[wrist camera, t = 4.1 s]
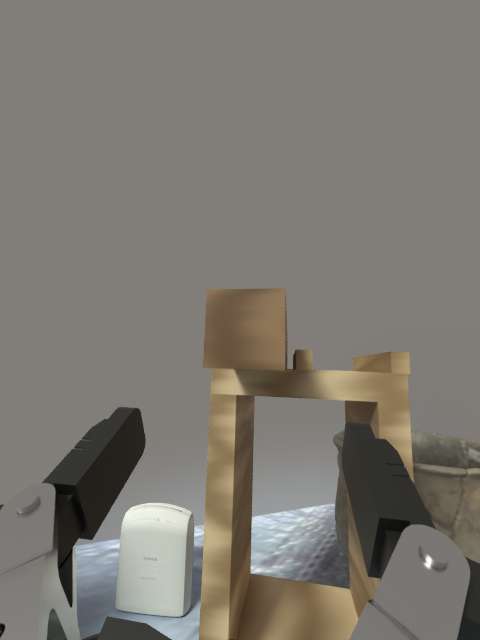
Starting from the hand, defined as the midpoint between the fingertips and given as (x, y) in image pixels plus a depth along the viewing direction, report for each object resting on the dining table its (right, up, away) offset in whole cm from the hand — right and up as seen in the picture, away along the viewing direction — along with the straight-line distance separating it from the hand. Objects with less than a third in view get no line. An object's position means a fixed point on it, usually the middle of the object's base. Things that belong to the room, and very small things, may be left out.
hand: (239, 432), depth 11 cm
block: (+2, 0, +14) cm, 15 cm away
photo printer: (-12, -34, +27) cm, 45 cm away
